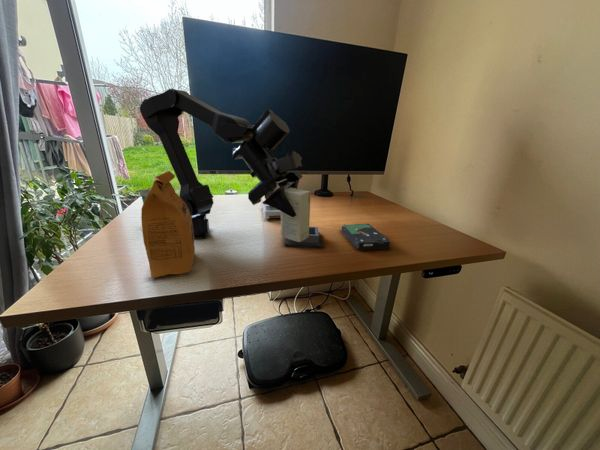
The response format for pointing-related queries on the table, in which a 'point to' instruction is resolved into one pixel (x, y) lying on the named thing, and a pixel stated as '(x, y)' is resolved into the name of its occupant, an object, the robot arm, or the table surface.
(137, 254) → the table surface
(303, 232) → the cosmetic box
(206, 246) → the table surface
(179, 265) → the coffee package
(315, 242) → the dock pad
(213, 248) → the table surface
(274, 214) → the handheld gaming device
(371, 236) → the disk drive
